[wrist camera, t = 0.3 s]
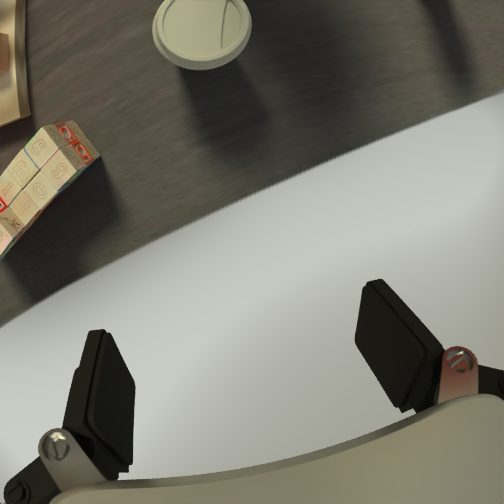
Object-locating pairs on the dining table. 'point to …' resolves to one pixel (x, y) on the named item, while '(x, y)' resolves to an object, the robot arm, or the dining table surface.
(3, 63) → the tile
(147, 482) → the robot arm
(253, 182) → the dining table surface
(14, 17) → the board
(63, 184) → the stack of blocks
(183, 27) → the coffee cup
